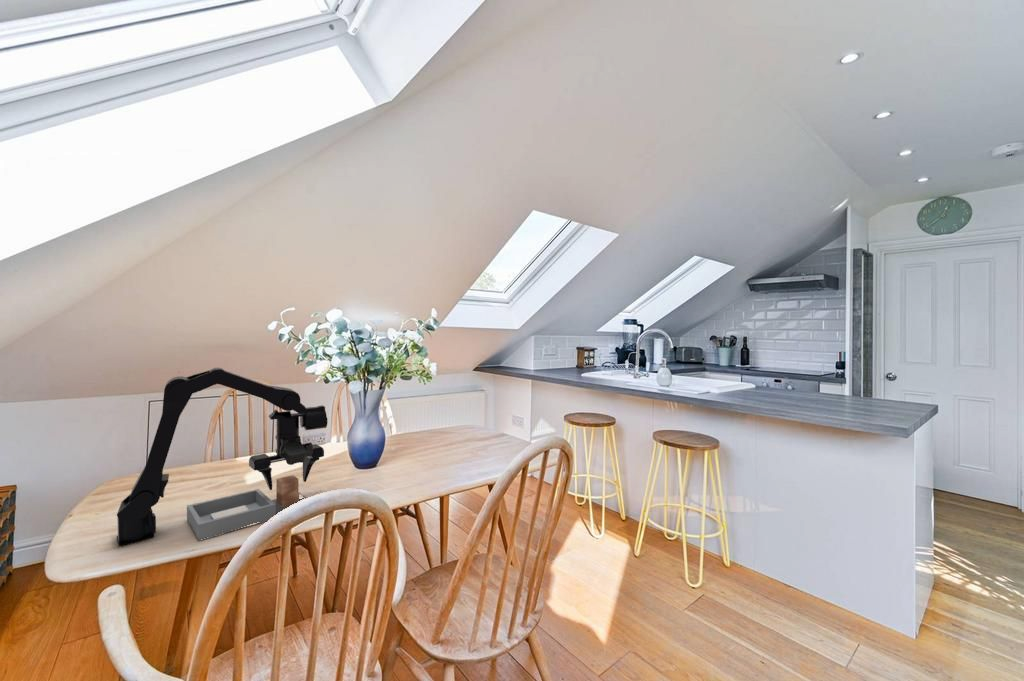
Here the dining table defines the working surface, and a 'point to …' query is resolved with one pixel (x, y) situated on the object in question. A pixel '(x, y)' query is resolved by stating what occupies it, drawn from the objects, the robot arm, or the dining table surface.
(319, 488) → the dining table surface
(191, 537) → the dining table surface
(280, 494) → the block
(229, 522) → the crate
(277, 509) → the mat
